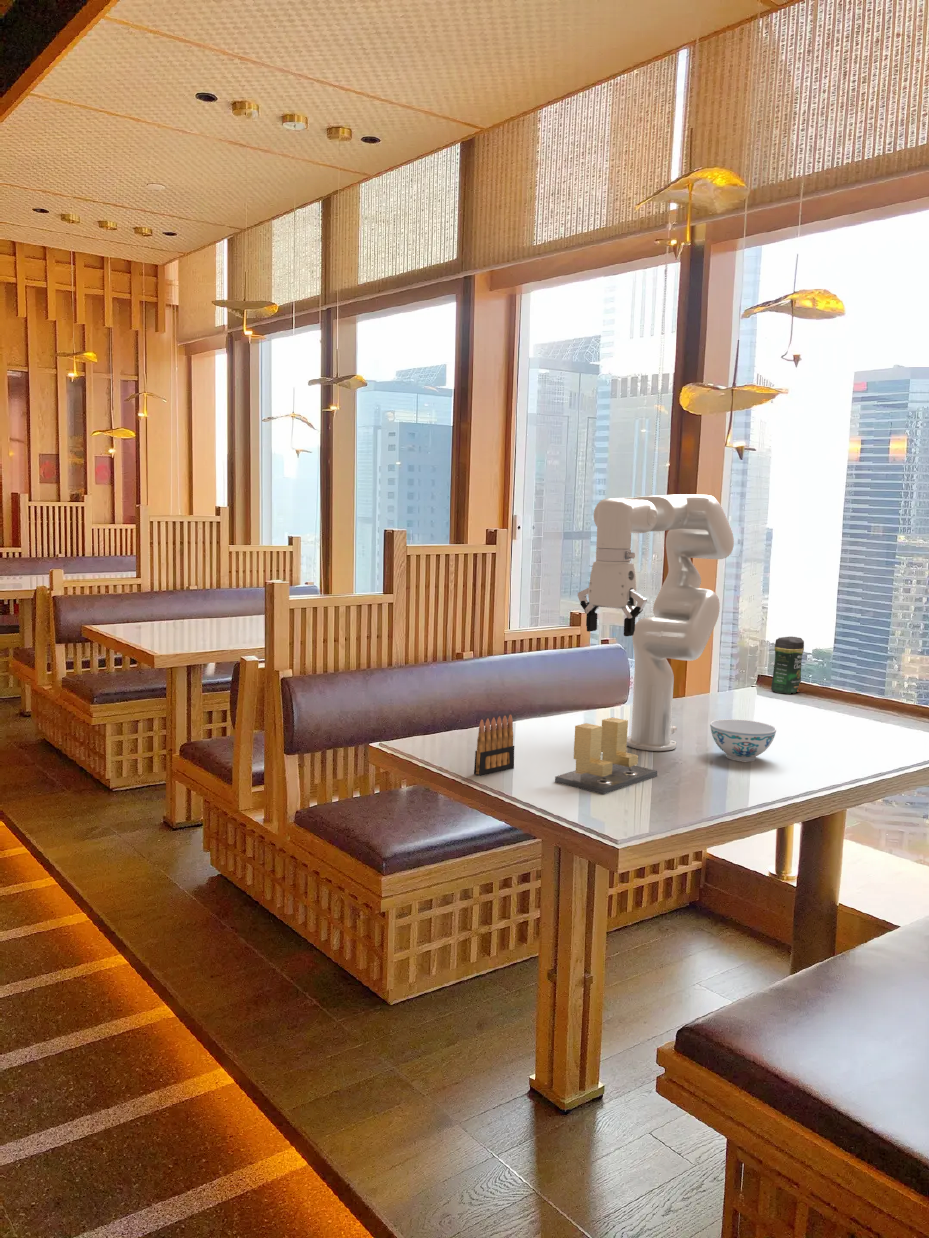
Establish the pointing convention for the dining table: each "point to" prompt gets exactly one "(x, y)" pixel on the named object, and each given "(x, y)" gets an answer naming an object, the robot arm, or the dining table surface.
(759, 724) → the chinaware
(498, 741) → the ammunition clip
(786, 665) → the coffee jar
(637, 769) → the hole plate
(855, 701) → the dining table surface
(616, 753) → the block
